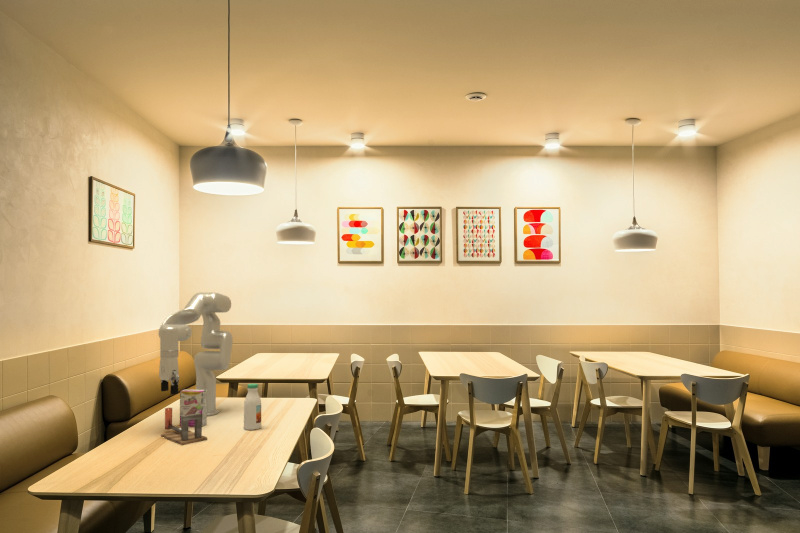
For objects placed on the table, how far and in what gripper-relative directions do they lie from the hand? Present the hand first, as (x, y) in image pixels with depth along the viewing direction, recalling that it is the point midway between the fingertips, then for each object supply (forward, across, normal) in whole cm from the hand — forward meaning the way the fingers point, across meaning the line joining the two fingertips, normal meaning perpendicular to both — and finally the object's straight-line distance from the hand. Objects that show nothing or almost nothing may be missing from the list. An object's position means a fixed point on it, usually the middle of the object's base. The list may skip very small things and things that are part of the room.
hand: (169, 392), depth 249 cm
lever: (+16, +8, -1) cm, 18 cm away
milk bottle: (+18, +23, +28) cm, 40 cm away
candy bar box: (+18, -2, +12) cm, 22 cm away
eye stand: (+17, +16, -1) cm, 23 cm away
